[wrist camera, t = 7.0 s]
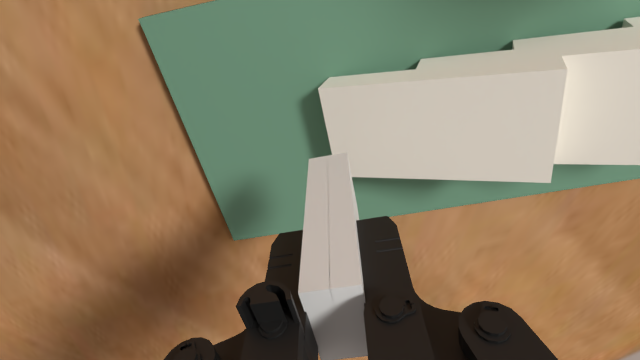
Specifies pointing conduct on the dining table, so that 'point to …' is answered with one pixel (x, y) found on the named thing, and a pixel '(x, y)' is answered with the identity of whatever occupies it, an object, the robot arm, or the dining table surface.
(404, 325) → the robot arm
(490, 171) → the domino
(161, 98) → the dining table surface
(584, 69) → the domino
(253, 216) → the felt mat
